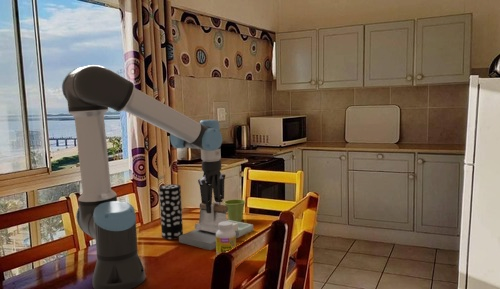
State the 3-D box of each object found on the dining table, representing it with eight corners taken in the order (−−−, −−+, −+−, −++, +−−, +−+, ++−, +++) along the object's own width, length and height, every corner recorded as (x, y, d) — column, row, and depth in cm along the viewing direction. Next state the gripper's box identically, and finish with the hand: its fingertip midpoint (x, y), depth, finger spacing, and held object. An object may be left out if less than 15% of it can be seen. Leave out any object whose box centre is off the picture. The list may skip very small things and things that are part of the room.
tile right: (228, 233, 158) (228, 227, 158) (216, 231, 162) (216, 225, 161) (238, 229, 163) (238, 223, 163) (226, 227, 166) (226, 221, 166)
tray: (238, 237, 161) (237, 231, 161) (207, 230, 171) (207, 224, 170) (253, 230, 169) (253, 224, 169) (223, 224, 178) (223, 218, 178)
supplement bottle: (218, 265, 134) (217, 227, 133) (215, 258, 141) (213, 221, 139) (238, 262, 136) (237, 224, 135) (234, 255, 143) (232, 219, 141)
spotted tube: (185, 232, 170) (182, 184, 167) (179, 239, 161) (177, 188, 159) (165, 232, 170) (162, 184, 168) (159, 239, 162) (156, 189, 160)
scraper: (221, 234, 154) (224, 206, 155) (194, 228, 163) (197, 201, 163) (228, 233, 158) (230, 205, 158) (201, 227, 166) (204, 201, 167)
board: (210, 250, 148) (210, 243, 148) (179, 242, 158) (178, 235, 158) (238, 237, 161) (237, 231, 161) (207, 230, 171) (207, 224, 170)
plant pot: (221, 219, 186) (220, 200, 185) (240, 216, 190) (240, 198, 189) (229, 225, 177) (228, 205, 176) (249, 221, 181) (248, 202, 180)
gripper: (204, 163, 150) (207, 226, 153) (232, 157, 163) (234, 216, 165) (189, 162, 155) (192, 223, 157) (217, 156, 167) (220, 213, 170)
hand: (214, 219), depth 161 cm, fingers closed on scraper, 3 cm apart
